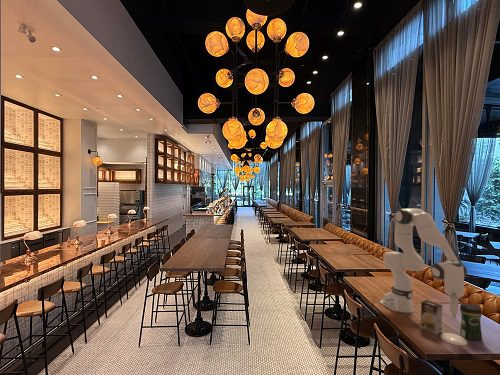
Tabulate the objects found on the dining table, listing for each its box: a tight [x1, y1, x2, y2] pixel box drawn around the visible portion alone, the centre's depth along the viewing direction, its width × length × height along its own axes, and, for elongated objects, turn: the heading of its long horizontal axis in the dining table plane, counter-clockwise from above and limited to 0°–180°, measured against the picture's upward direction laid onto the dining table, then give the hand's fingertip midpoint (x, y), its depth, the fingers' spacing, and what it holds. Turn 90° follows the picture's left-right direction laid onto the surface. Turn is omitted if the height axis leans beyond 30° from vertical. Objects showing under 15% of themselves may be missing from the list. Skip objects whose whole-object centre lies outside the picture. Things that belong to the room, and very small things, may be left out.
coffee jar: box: [459, 303, 483, 341], centre depth 163 cm, size 10×8×19 cm
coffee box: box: [420, 299, 443, 335], centre depth 171 cm, size 9×6×16 cm
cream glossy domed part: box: [440, 332, 468, 347], centre depth 159 cm, size 12×12×1 cm
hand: (453, 315), depth 160 cm, fingers open, 8 cm apart
